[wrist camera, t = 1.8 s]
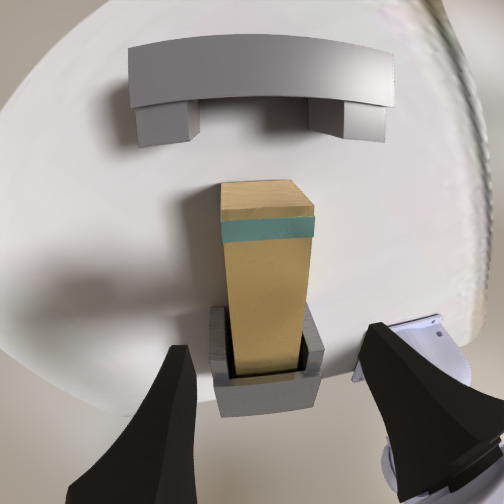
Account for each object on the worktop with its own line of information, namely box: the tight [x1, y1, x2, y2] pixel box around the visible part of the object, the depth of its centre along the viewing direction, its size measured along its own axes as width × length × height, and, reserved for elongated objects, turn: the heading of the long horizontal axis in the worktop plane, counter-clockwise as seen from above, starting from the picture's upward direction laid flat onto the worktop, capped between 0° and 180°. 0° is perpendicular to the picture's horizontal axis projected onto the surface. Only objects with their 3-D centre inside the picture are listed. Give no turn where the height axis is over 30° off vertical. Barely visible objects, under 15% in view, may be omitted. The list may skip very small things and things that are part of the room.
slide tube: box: [220, 180, 315, 378], centre depth 17 cm, size 4×15×4 cm, turn 2°
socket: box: [128, 34, 394, 148], centre depth 11 cm, size 10×4×6 cm, turn 92°
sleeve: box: [209, 303, 325, 417], centre depth 19 cm, size 7×7×6 cm
